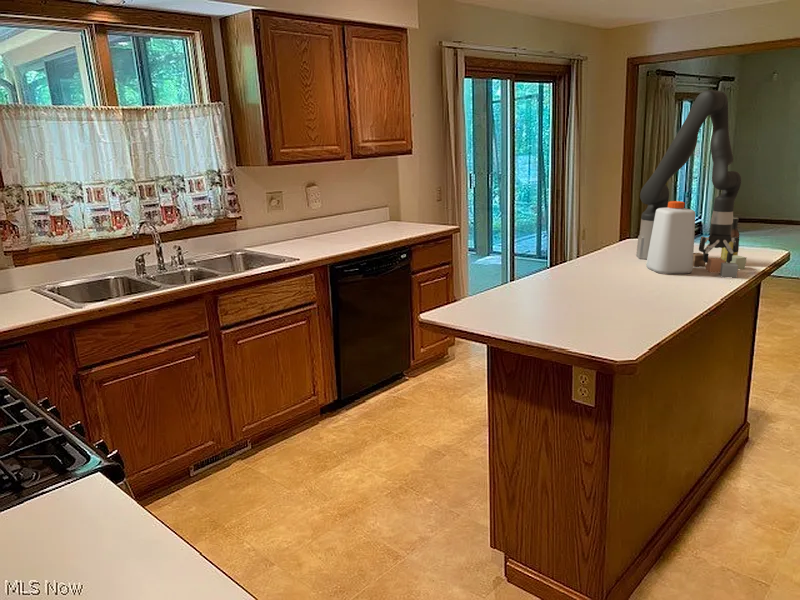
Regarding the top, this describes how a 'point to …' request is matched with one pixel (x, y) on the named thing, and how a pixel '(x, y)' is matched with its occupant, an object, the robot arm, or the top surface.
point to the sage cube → (739, 261)
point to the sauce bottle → (733, 234)
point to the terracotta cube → (714, 264)
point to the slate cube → (729, 270)
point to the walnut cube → (698, 260)
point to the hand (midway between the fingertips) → (716, 262)
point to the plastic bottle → (672, 240)
